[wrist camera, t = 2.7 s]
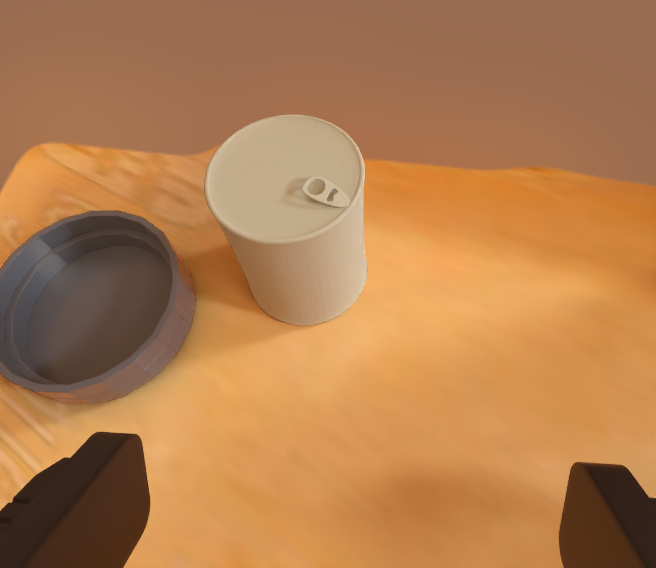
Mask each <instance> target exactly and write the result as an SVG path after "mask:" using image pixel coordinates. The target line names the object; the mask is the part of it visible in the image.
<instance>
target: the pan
mask: <svg viewBox="0 0 656 568" xmlns="http://www.w3.org/2000/svg"><path fill="white" fill-rule="evenodd" d="M195 301H196V298H195V292H194V286H193V280H192V275H191V273H190V272H189V270H188V268H187V267H186V265H185V263H184V262H183V260H182V258H181V257H180V255H179V254H178V252H177V251H176V250H175V248H174V247H173V245H172V244H171V243H170V241H169V240H168V238H167V237H166V235H165V234H164V233H163V232H162V231H161V230H160V229H158V228H157V227H155V226H154V225H153V224H151V223H150V222H149V221H147V220H146V219H145V218H143V217H139V216H136V215H132V214H129V213H125V212H122V211H89V212H86V213H82V214H78V215H75V216H71V217H67V218H64V219H61V220H59V221H58V222H56V223H54V224H52V225H50V226H48V227H46V228H45V229H43V230H41V231H39V232H37V233H36V234H34V235H33V236H32V237H31V238H29V239H28V240H27V241H26V242H25V243H24V244H22V245H21V246H20V247H19V248H18V249H17V250H15V251H14V252H13V253H12V254H11V255H10V256H9V258H8V259H7V261H6V262H5V263H4V265H3V266H2V267H1V269H0V373H1V374H2V376H3V377H4V378H5V379H6V380H8V381H9V382H12V383H14V384H17V385H19V386H21V387H24V388H26V389H29V390H31V391H34V392H36V393H39V394H41V395H44V396H46V397H49V398H51V399H54V400H56V401H59V402H61V403H65V404H92V405H94V404H99V403H102V402H106V401H109V400H113V399H116V398H119V397H123V396H126V395H128V394H129V393H131V392H132V391H134V390H136V389H137V388H139V387H140V386H142V385H144V384H145V383H147V382H148V381H150V380H152V379H153V378H154V377H156V376H157V375H158V374H159V373H160V372H161V371H162V369H163V368H164V367H165V366H166V365H167V364H168V363H169V362H170V361H171V360H172V359H173V358H174V357H175V355H176V354H177V353H178V351H179V349H180V347H181V345H182V343H183V341H184V339H185V337H186V335H187V333H188V332H189V330H190V328H191V327H190V326H191V323H192V318H193V312H194V306H195Z"/></svg>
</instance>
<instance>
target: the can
mask: <svg viewBox="0 0 656 568" xmlns="http://www.w3.org/2000/svg"><path fill="white" fill-rule="evenodd" d="M364 181H365V166H364V161H363V157H362V155H361V152H360V150H359V148H358V146H357V145H356V143H355V142H354V141H353V140H352V138H351V137H350V136H349V135H348V134H347V133H345V132H344V131H343V130H342V129H340V128H339V127H337V126H336V125H334V124H332V123H330V122H328V121H326V120H323V119H320V118H316V117H312V116H306V115H278V116H273V117H269V118H265V119H262V120H259V121H256V122H253V123H251V124H249V125H247V126H245V127H243V128H241V129H240V130H238V131H237V132H235V133H234V134H233V135H231V136H230V137H229V138H228V139H227V140H225V141H224V142H223V143H222V145H221V146H220V147H219V148H218V149H217V151H216V152H215V154H214V155H213V157H212V159H211V160H210V163H209V165H208V167H207V170H206V174H205V180H204V191H205V198H206V201H207V204H208V207H209V209H210V211H211V213H212V214H213V216H214V217H215V219H216V220H217V221H218V223H219V225H220V227H221V229H222V231H223V232H224V234H225V236H226V238H227V240H228V242H229V244H230V246H231V248H232V250H233V252H234V254H235V256H236V258H237V260H238V262H239V264H240V266H241V268H242V270H243V272H244V274H245V276H246V278H247V280H248V283H249V287H250V291H251V293H252V296H253V297H254V299H255V301H256V302H257V304H258V305H259V306H260V307H261V308H262V309H263V310H264V311H265V312H266V313H267V314H269V315H270V316H272V317H273V318H275V319H277V320H279V321H282V322H285V323H288V324H293V325H315V324H320V323H323V322H327V321H329V320H332V319H334V318H336V317H337V316H339V315H341V314H342V313H344V312H345V311H346V310H348V309H349V308H350V307H351V306H352V305H353V304H354V302H355V301H356V300H357V299H358V297H359V296H360V294H361V292H362V290H363V287H364V285H365V282H366V277H367V261H366V257H365V251H364Z"/></svg>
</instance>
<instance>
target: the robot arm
mask: <svg viewBox="0 0 656 568" xmlns="http://www.w3.org/2000/svg"><path fill="white" fill-rule="evenodd" d="M149 511H150V495H149V488H148V481H147V474H146V467H145V460H144V453H143V446H142V441H141V439H140V437H139V436H138V435H137V434H126V433H110V432H97V433H94V434H93V435H92V436H91V437H90V438H89V439H88V440H87V441H86V442H85V443H84V444H83V445H82V446H81V447H80V448H79V449H78V450H77V452H76V453H75V454H74V455H73V456H72V457H71V458H63V459H61V460H60V461H58V462H56V463H55V464H53V465H52V466H50V467H48V468H47V469H45V470H44V471H42V472H40V473H39V474H37V475H36V476H35V477H34V478H33V479H32V480H31V481H30V482H29V483H28V484H27V485H26V486H25V487H24V488H23V489H22V490H21V491H20V492H19V493H18V494H17V495H16V496H15V497H14V498H13V502H12V503H8V504H7V505H6V506H5V507H4V508H3V509H2V510H1V511H0V568H123V567H124V565H125V563H126V562H127V560H128V558H129V556H130V555H131V553H132V551H133V550H134V548H135V546H136V544H137V543H138V541H139V539H140V538H141V536H142V534H143V532H144V529H145V527H146V524H147V521H148V516H149ZM559 547H560V554H561V559H562V563H563V566H564V568H656V498H649V497H648V495H647V494H646V493H645V491H644V490H643V489H642V487H641V486H640V485H639V483H638V482H637V481H636V479H635V478H634V476H633V475H632V474H631V472H630V471H629V470H628V469H627V468H626V467H625V466H623V465H616V464H600V463H583V462H576V463H574V464H573V466H572V468H571V470H570V475H569V480H568V486H567V491H566V497H565V502H564V508H563V513H562V519H561V524H560V530H559Z"/></svg>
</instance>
